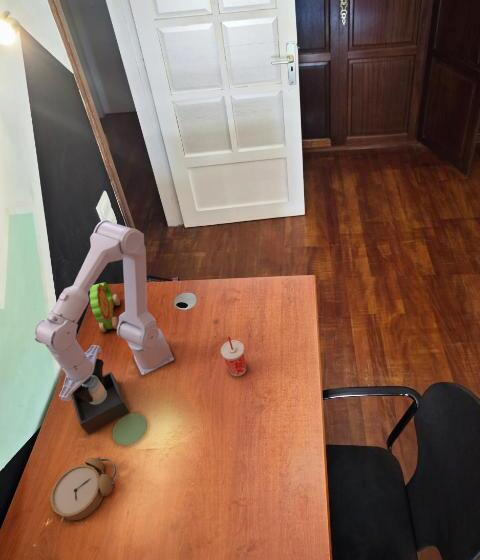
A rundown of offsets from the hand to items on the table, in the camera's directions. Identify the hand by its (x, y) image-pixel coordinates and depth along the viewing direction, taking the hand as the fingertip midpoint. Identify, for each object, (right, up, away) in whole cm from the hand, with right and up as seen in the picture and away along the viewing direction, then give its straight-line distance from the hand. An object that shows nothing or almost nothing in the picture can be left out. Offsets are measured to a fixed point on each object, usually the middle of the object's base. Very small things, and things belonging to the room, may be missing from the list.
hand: (94, 391), depth 118 cm
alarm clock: (+2, -21, -7) cm, 23 cm away
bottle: (0, -2, +2) cm, 2 cm away
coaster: (+8, -10, +3) cm, 13 cm away
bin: (-1, -6, +8) cm, 10 cm away
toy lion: (-7, +15, +30) cm, 35 cm away
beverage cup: (+34, +3, +13) cm, 37 cm away
